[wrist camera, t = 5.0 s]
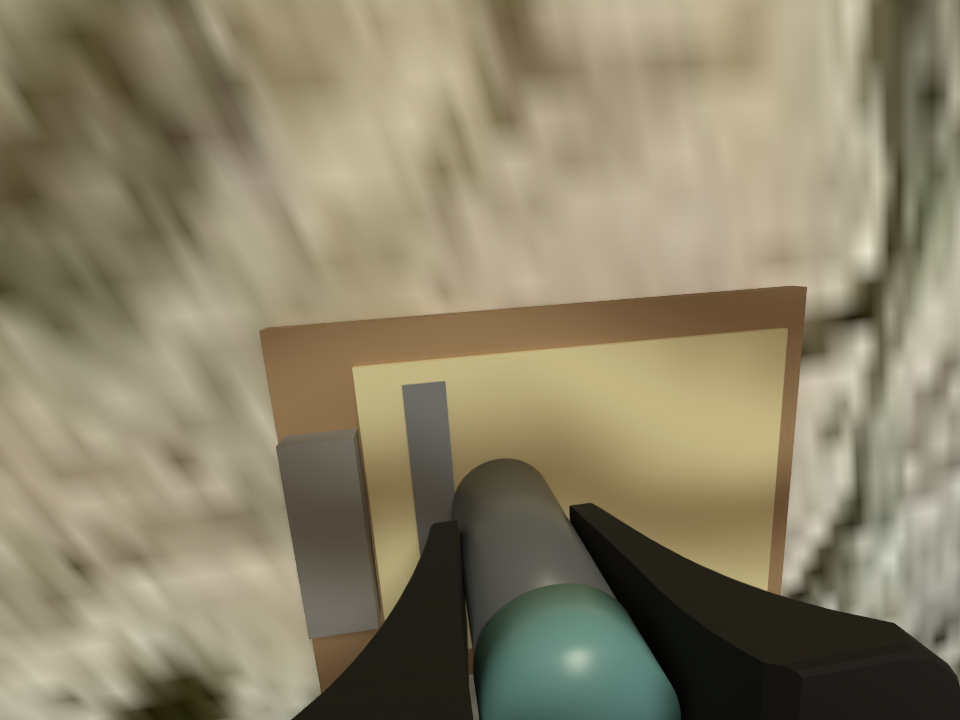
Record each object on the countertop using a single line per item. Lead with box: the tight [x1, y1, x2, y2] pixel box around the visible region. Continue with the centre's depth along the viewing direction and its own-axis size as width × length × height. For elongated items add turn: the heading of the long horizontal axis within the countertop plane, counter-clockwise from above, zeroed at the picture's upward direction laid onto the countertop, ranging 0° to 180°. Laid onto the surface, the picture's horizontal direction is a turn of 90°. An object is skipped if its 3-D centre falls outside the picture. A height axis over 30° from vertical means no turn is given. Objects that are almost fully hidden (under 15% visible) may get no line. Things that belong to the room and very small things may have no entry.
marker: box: [453, 458, 681, 720], centre depth 10 cm, size 3×3×7 cm
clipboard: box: [259, 286, 807, 694], centre depth 14 cm, size 12×16×1 cm
